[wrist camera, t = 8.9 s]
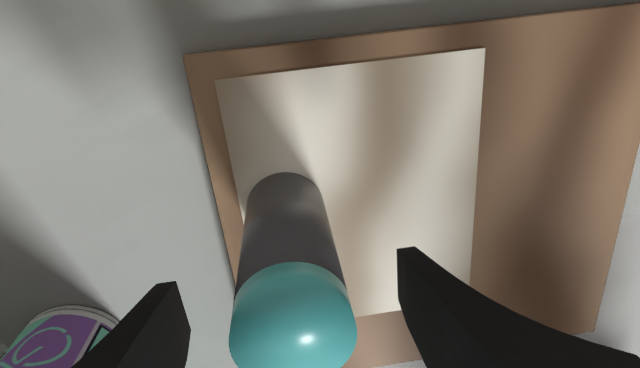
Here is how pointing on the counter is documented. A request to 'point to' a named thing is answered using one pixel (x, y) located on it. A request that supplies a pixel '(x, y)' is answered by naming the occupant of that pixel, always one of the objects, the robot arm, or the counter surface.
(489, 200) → the drawing board
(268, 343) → the marker
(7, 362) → the spray can
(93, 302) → the counter surface
